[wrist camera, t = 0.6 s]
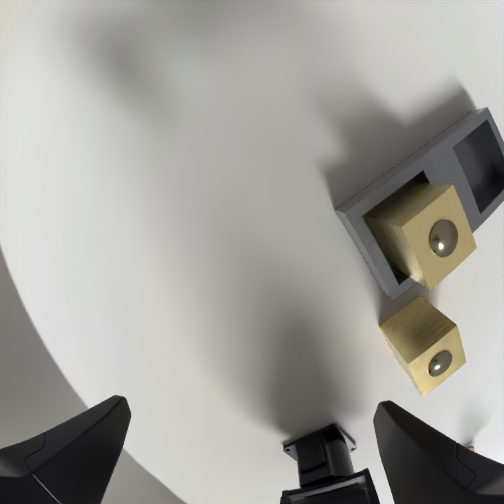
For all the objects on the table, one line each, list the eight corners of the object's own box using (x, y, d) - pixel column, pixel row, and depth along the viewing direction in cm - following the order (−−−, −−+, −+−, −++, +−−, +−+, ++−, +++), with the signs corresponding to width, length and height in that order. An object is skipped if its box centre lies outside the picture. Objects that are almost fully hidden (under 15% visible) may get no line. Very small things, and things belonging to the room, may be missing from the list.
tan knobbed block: (432, 329, 22) (467, 362, 16) (395, 357, 22) (423, 397, 16) (419, 295, 21) (458, 326, 15) (378, 325, 22) (408, 365, 16)
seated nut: (430, 231, 19) (478, 248, 13) (390, 264, 20) (431, 291, 14) (406, 183, 18) (454, 185, 13) (363, 215, 19) (402, 227, 13)
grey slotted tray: (501, 182, 18) (518, 183, 16) (380, 289, 21) (393, 300, 18) (470, 111, 17) (487, 107, 14) (334, 209, 19) (344, 213, 17)
